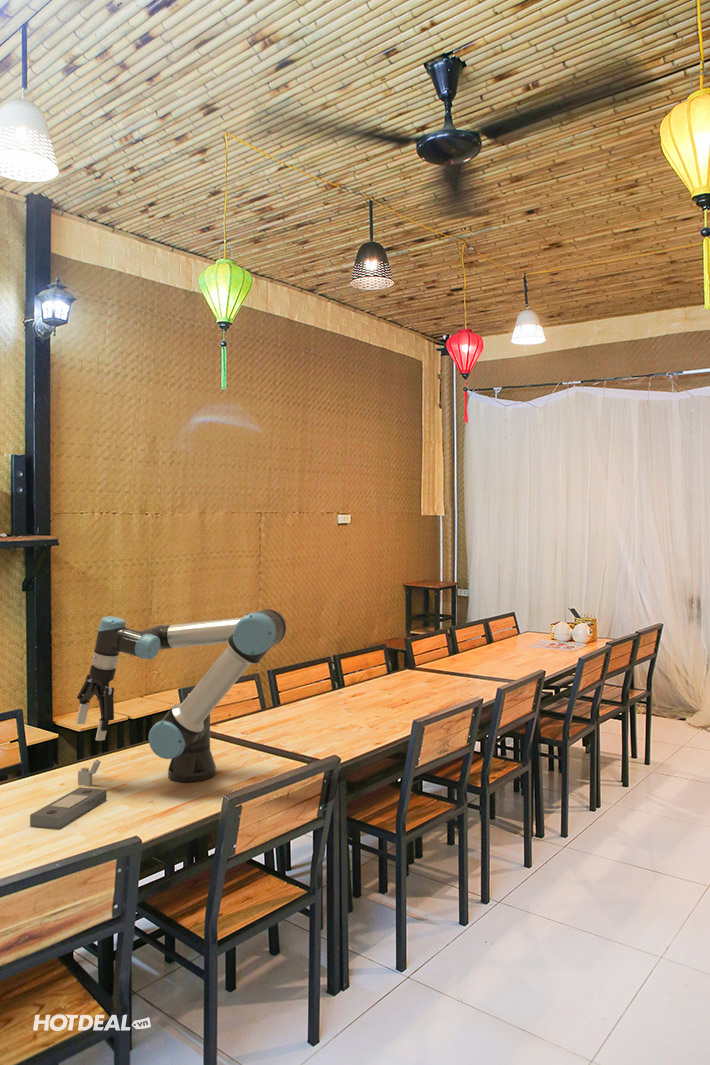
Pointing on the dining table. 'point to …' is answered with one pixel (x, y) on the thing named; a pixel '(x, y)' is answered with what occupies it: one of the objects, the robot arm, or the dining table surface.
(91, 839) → the dining table surface
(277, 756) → the dining table surface
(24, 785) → the dining table surface
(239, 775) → the dining table surface
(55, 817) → the dark grey rectangular base
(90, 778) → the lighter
